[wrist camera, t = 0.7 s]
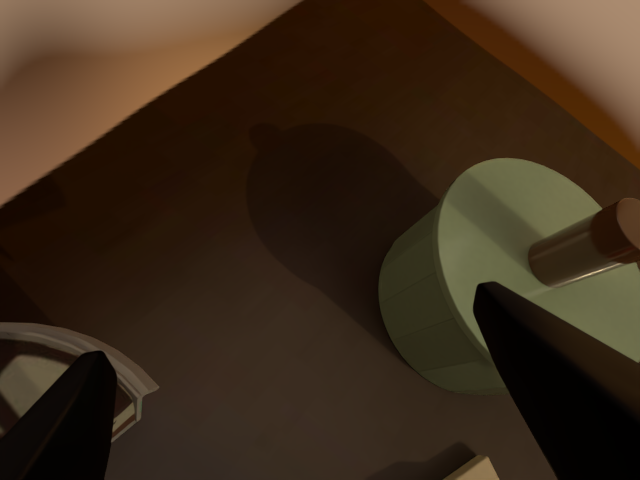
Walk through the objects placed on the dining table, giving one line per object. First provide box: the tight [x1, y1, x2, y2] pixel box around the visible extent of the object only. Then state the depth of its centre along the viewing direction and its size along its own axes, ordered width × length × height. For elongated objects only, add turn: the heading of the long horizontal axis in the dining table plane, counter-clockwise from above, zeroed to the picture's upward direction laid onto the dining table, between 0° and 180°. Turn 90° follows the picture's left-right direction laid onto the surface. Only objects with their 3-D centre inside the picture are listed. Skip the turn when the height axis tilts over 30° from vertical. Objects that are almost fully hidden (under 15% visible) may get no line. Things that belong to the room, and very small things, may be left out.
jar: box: [378, 204, 510, 395], centre depth 25 cm, size 12×12×8 cm
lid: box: [432, 158, 640, 366], centre depth 20 cm, size 13×13×6 cm
